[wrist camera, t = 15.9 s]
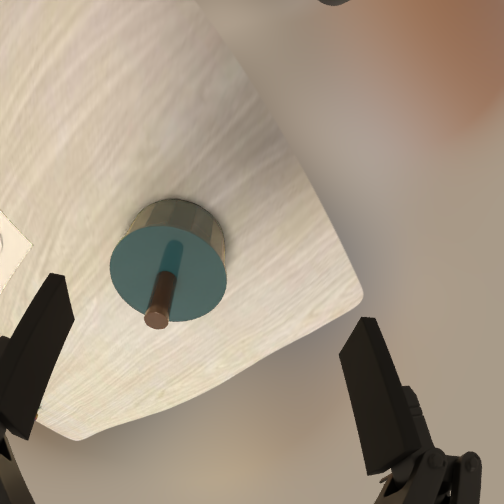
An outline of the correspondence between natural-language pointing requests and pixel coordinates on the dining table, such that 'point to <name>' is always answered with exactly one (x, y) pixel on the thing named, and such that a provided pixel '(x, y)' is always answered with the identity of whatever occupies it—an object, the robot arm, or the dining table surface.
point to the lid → (168, 273)
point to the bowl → (183, 220)
